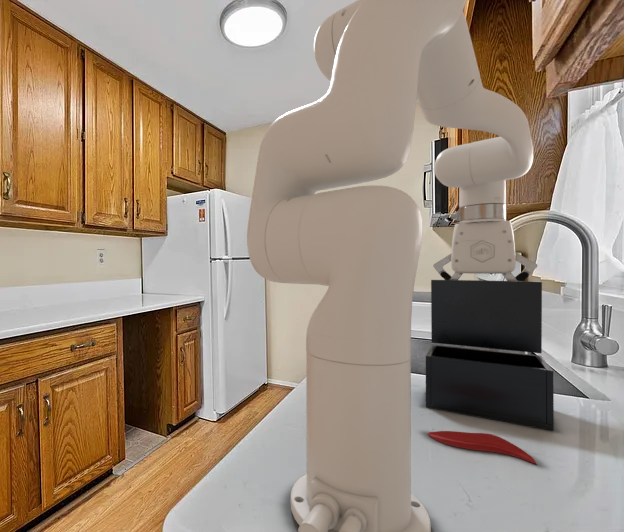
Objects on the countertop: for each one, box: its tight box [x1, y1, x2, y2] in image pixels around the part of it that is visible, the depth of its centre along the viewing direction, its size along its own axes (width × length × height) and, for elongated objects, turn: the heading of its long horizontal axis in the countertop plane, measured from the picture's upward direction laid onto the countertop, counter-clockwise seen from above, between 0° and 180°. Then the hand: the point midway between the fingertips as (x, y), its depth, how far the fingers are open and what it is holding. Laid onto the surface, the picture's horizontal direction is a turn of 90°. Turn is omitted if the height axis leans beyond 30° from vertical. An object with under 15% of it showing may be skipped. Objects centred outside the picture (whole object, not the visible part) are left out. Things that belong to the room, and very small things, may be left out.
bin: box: [425, 344, 555, 431], centre depth 64 cm, size 12×17×9 cm
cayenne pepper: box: [427, 430, 537, 465], centre depth 50 cm, size 12×5×2 cm, turn 42°
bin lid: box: [430, 279, 543, 354], centre depth 70 cm, size 12×17×6 cm
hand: (482, 305), depth 73 cm, fingers open, 7 cm apart
